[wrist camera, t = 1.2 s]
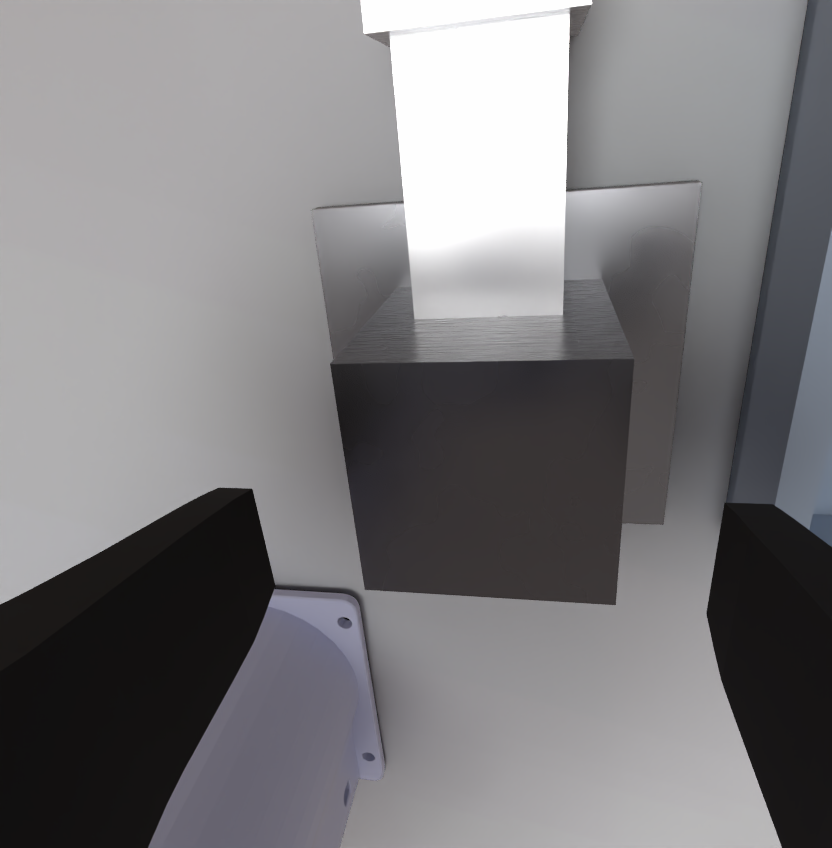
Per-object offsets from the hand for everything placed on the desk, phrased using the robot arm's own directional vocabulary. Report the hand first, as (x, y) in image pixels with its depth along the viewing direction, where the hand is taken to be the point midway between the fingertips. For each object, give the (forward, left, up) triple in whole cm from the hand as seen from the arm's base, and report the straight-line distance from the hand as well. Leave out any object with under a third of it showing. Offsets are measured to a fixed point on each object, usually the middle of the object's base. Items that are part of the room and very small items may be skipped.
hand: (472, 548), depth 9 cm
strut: (+3, 0, -7) cm, 8 cm away
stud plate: (0, 0, -8) cm, 8 cm away
